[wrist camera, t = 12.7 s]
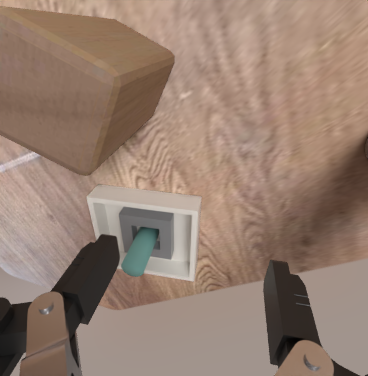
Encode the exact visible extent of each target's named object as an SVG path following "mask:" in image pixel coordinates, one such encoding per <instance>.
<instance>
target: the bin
mask: <svg viewBox="0 0 368 376" xmlns="http://www.w3.org/2000/svg"><path fill="white" fill-rule="evenodd" d="M86 198H87V202H88V206H89V210H90V215H91V219H92V223H93V228H94V232H95V236H96V241H97V239H98V238H99V236H100V235H101V234H106V235H113V236H116V237H117V241H118V247H119V253H120V261H119V265H118V267H117V269H122V267H121V264H122V262H123V260H124V258H125V256H126V254H127V252H128V250H129V248H130V246H131V244H132V242H133V240H134V239H135V237H136V235H137V233H138V231H139V229H140V227H147V228H154V229H159V235H158V238H157V240H156V243H155V245H154V248H153V250H152V253H151V255H150V258H149V260H148V263H147V265H146V268H145V270H144V273H146V274H152V275H158V276H164V277H170V278H176V279H182V280H188V281H193V282H194V279H195V274H196V268H197V259H198V244H199V229H200V215H201V200H202V196H194V195H186V194H177V193H169V192H161V191H152V190H144V189H135V188H127V187H118V186H110V185H101V184H98V185H97V186H96V187H95V188H94V189H93V190H92V192H91V193H90V194H89V195H88V196H87V197H86Z"/></svg>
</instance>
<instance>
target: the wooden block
mask: <svg viewBox="0 0 368 376" xmlns="http://www.w3.org/2000/svg"><path fill="white" fill-rule="evenodd" d="M173 65H174V55H173V54H172V52H171V51H169V50H168V49H166V48H164V47H162V46H161V45H159V44H157V43H155V42H154V41H152V40H150V39H148V38H147V37H145V36H143V35H141V34H140V33H138V32H136V31H134V30H133V29H131V28H129V27H127V26H126V25H124V24H122V23H120V22H119V21H117V20H115V19H106V18H98V17H89V16H81V15H72V14H63V13H55V12H46V11H38V10H29V9H20V8H12V7H3V6H0V135H1V136H3V137H5V138H7V139H9V140H11V141H13V142H15V143H17V144H19V145H21V146H23V147H25V148H27V149H29V150H31V151H33V152H35V153H37V154H39V155H41V156H43V157H45V158H47V159H49V160H51V161H53V162H55V163H57V164H59V165H61V166H63V167H65V168H67V169H69V170H71V171H73V172H75V173H77V174H79V175H85V176H87V175H90V174H91V173H93V172H94V171H95V170H96V169H97V168H98V167H99V166H100V165H101V164H102V163H103V162H104V161H105V160H106V159H107V158H108V157H109V156H111V155H112V154H113V153H114V152H115V151H116V150H117V149H118V148H119V147H120V146H121V145H122V144H123V143H124V142H125V141H126V140H127V139H128V138H129V137H131V136H132V135H133V134H134V133H135V132H136V131H137V130H138V129H139V128H140V127H141V126H142V125H143V124H144V123H145V122H146V121H147V120H148V119H149V118H151V117H152V116H153V114H154V111H155V109H156V106H157V104H158V101H159V99H160V96H161V94H162V92H163V89H164V87H165V84H166V82H167V79H168V77H169V74H170V72H171V69H172V67H173Z"/></svg>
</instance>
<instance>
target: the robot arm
mask: <svg viewBox="0 0 368 376" xmlns="http://www.w3.org/2000/svg"><path fill="white" fill-rule="evenodd" d="M365 153H366V157H367V159H368V138H367V142H366V145H365ZM119 261H120V253H119V247H118V241H117V237H116V236H113V235H106V234H101V235H100V236H99V238H98V239H97V241H96V242H95V243H92V242H90V243H89V244H88V245H86V246H85V247H84V248H82V249H81V251H80V252H79V253H78V255H77V256H76V258H75V259H74V260H73V262H72V263H71V265H70V266H69V267H68V268H67V270H66V271H65V273H64V274H63V275H62V277H61V278H60V279H59V281H58V282H57V284H56V285H55V286H54V288H53V289H52V290H51V291H50V292H48V293H44V294H42V295H40V296H39V297H37V298H36V299H35V300H34V301H33V302H27V303H20V304H12V305H11V304H10V302H9V301H8V300H7V299H5V298H0V376H10V374H11V373H12V371H13V370H14V368H15V366H16V365H17V363H18V362H19V360H20V358H21V357H22V355H23V353H25V352H26V357H25V358H24V359H22V361H21V364H20V376H82V371H81V364H80V356H79V348H78V341H77V333H76V329H77V327H78V326H79V324H80V323H83V324H87V325H88V323H89V321H90V320H91V318H92V316H93V314H94V312H95V310H96V308H97V306H98V304H99V302H100V300H101V298H102V296H103V294H104V293H105V291H106V289H107V287H108V285H109V283H110V281H111V279H112V277H113V275H114V273H115V271H116V269H117V267H118V265H119ZM264 302H265V312H266V323H267V332H268V343H269V353H270V363H271V364H273V365H278V371H277V372H276V374H275V375H274V376H359V375H357V374H355V373H353V372H351V371H349V370H348V369H346V368H344V367H342V366H340V365H339V364H337V363H336V362H335V361H333V360H332V359H331V358H330V356H329V355H328V353H327V352H326V351H325V350H324V349H323V347H322V345H321V343H320V340H319V336H318V332H317V329H316V325H315V321H314V317H313V313H312V310H311V307H310V303H309V298H308V295H307V291H306V287H305V285H304V283H303V282H302V280H301V279H300V277H299V276H298V275H293V274H290V271H289V267H288V263H287V262H282V261H276V260H270V262H269V266H268V269H267V273H266V276H265V279H264ZM365 376H368V374H367V375H365Z"/></svg>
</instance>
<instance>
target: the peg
mask: <svg viewBox="0 0 368 376" xmlns="http://www.w3.org/2000/svg"><path fill="white" fill-rule="evenodd" d="M158 235H159V229H154V228H147V227H140V229H139V231H138V233H137V235H136V237H135V239H134V240H133V242H132V244H131V246H130V248H129V250H128V252H127V254H126V256H125V258H124V260H123V262H122V264H121V267H122V269H123V271H124V272H125V273H127V274H128V275H131V276H135V277H137V276H141V275H142V274H143V273H144V270H145V268H146V265H147V263H148V260H149V258H150V255H151V253H152V250H153V248H154V245H155V243H156V240H157V238H158Z"/></svg>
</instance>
